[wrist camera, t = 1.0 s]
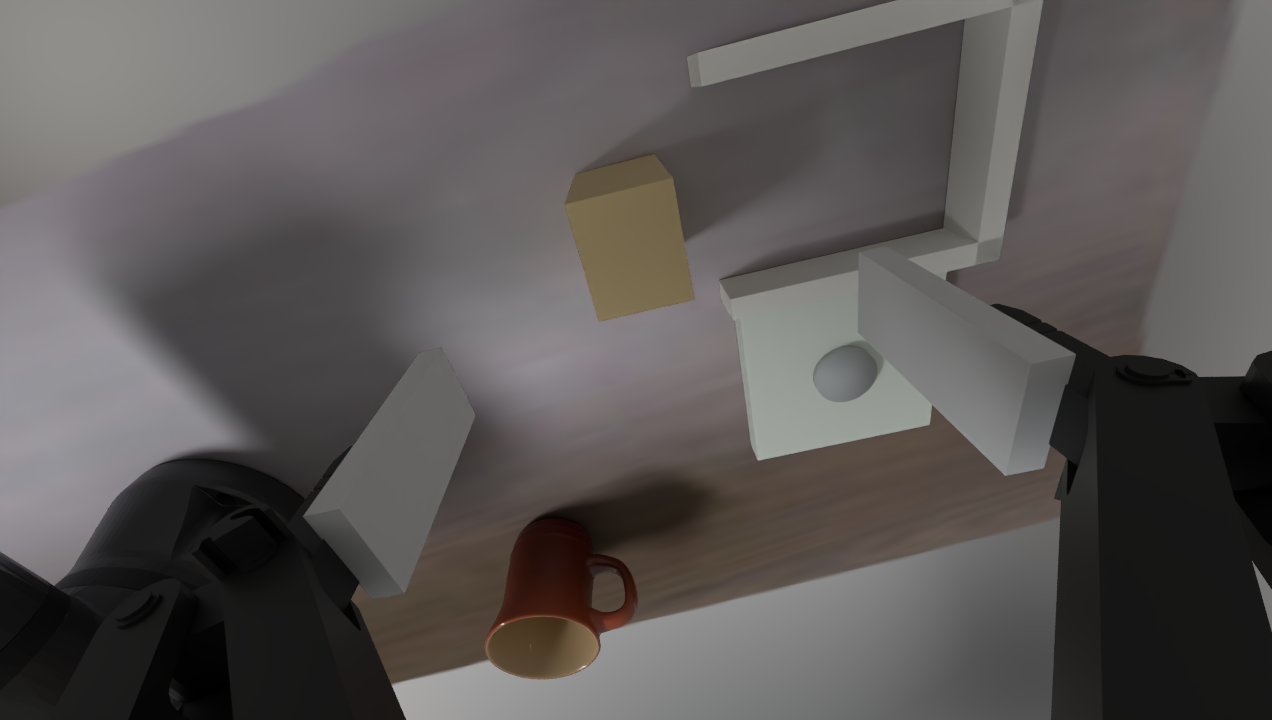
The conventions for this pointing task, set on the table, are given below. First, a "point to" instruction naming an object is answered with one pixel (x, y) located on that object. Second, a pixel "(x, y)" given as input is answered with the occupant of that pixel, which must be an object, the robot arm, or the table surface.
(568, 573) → the mug
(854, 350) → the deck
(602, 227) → the chute block
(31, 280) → the table surface
